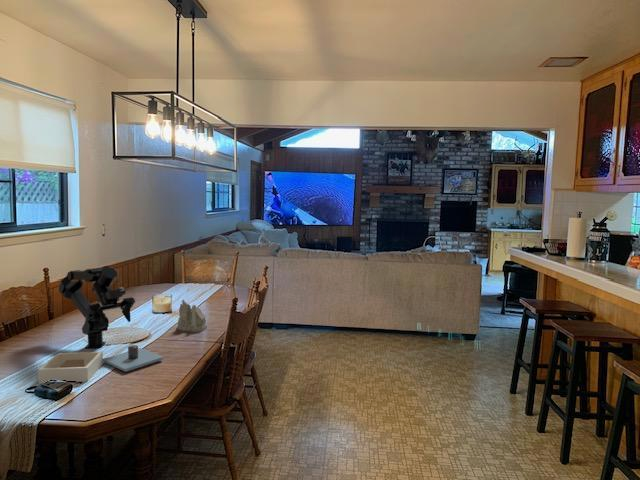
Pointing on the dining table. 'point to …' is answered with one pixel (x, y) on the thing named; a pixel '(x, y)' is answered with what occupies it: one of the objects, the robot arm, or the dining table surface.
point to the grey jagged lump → (191, 318)
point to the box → (71, 367)
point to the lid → (133, 359)
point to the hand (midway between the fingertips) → (119, 323)
